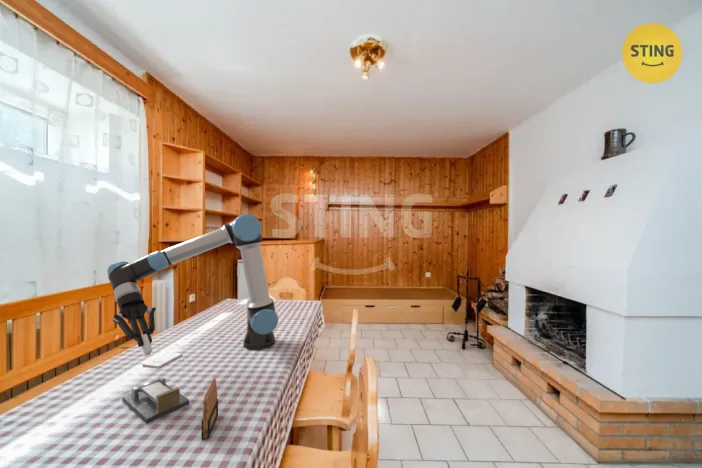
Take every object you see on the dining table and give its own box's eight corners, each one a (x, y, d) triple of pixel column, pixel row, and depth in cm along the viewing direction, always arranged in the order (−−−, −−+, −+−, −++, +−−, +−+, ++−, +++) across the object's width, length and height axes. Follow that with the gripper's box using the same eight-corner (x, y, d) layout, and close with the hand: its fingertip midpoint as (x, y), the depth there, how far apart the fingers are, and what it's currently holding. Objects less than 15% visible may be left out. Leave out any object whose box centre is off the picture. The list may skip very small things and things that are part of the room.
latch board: (122, 401, 96) (122, 381, 96) (162, 385, 106) (162, 367, 106) (146, 424, 85) (146, 401, 85) (189, 404, 95) (189, 384, 95)
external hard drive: (182, 357, 132) (158, 369, 120) (166, 355, 134) (142, 367, 122) (182, 353, 132) (158, 365, 120) (166, 352, 134) (142, 363, 122)
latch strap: (137, 385, 97) (155, 400, 88) (157, 378, 101) (176, 391, 93) (137, 391, 97) (155, 406, 88) (157, 384, 101) (176, 397, 93)
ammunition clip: (211, 415, 89) (211, 376, 89) (218, 414, 89) (218, 375, 89) (201, 439, 78) (201, 395, 78) (208, 438, 79) (208, 394, 79)
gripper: (146, 300, 115) (166, 352, 105) (104, 307, 104) (122, 366, 95) (152, 288, 112) (173, 340, 102) (109, 294, 101) (128, 353, 92)
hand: (148, 352), depth 98 cm, fingers closed
